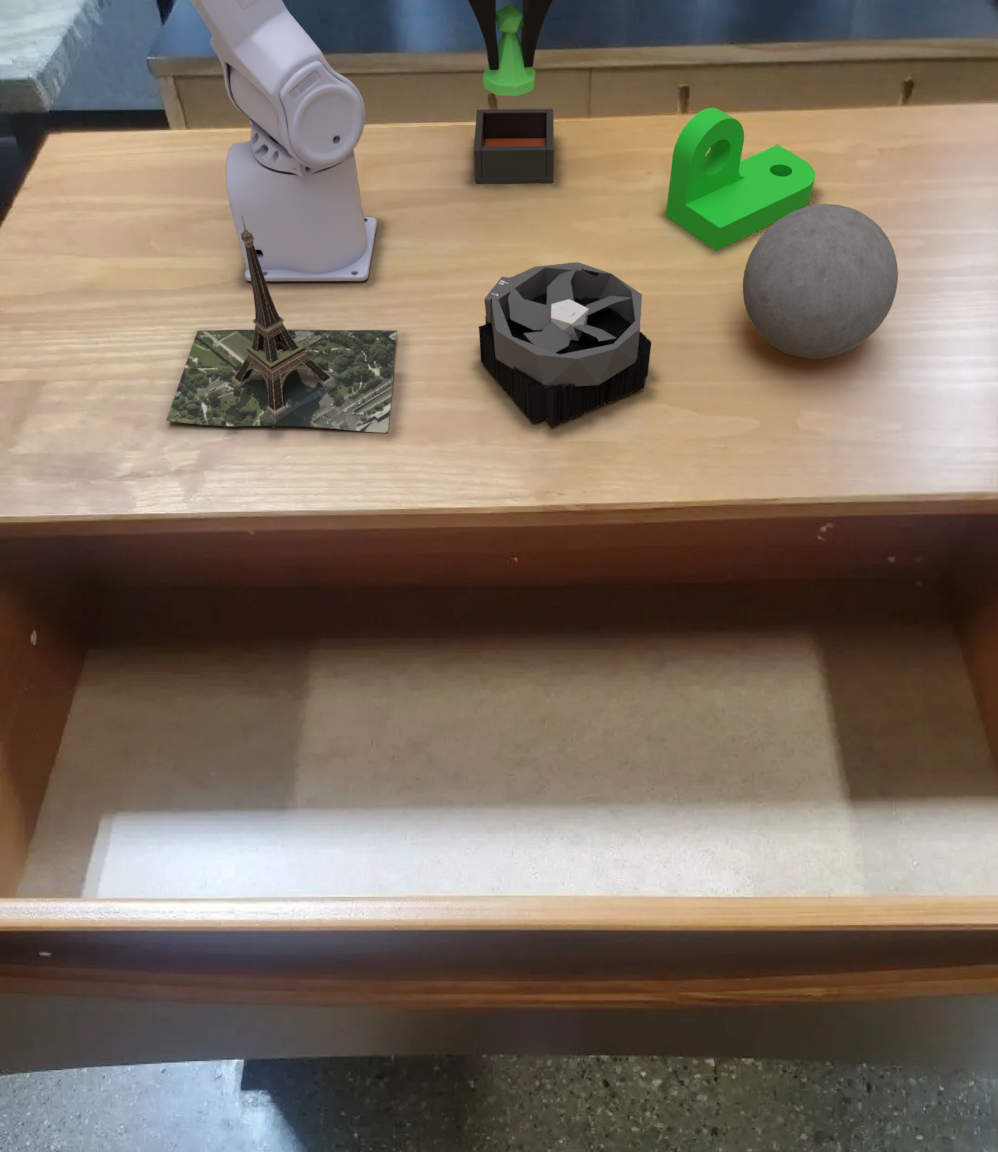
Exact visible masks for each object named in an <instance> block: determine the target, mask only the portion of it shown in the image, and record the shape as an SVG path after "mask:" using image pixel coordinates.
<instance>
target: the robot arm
mask: <svg viewBox="0 0 998 1152" xmlns="http://www.w3.org/2000/svg"><path fill="white" fill-rule="evenodd" d="M521 1H522V3H521V4H522V9H521V12H522V15H523V21H524V26H523V27H521V28H520V29H521V30H520V44H521V46H522V49H523V59H524V68H526V67H531V68H533V67H534V61H535V54H536V50H537V45H538V41H539V38H540V33H541V30H542V28H543V25H544V22H545V19H546V16H547V13H548V12H549V9H550V6H551V5H552V4H553V1H554V0H521ZM189 2H190V3H191V5H192V6H193V8H194V9H195V10H196V12H197V13H198V15H199V17H200V19H201V20H202V21H203V23H204V25H205V26H206V28H207V29H208V30H209V32H210V34H211V35H212V36H211V37H210V40H209V45H210V47H211V49H212V50H213V52H214V53H215V55H216V56H217V58H218V61H219V62H220V65H221V68H222V72H223V80H224V86H225V90H226V94H227V96H228V98H229V100H230V103H232V105H233V107H235V108H236V109H237V110H238V112H240V113H241V114H243V115H244V116H245V117H247V118H248V121H249V125H250V140H247V141H243V142H236V143H233V144H231V145H230V146H229V149H228V151H227V156H226V163H225V183H226V194H227V199H228V204H229V208H230V213H231V216H232V220H233V223H234V227H235V231H236V235H237V239H238V243H239V247H240V250H241V254H242V258H243V262H244V266H245V272H244V278H245V280H246V281H248V282H251V277H250V271H249V265H248V259H247V254H246V249H245V244H244V242H243V241H242V240H241V238H242V237H241V233H243V232H244V229H245V228H246V230H248V231H249V232H250V233H252V235H253V237H254V240H253V243H254V247H255V251H256V254H257V257H258V260H259V263H260V266H261V269H262V272H263V275H264V278H265V281H266V282H363V281H366V280H367V279H368V278H369V274H370V269H371V262H372V256H373V250H374V244H375V237H376V233H377V227H378V221H377V218H376V217H373V216H365V215H364V209H363V202H362V196H361V189H360V181H359V176H358V168H357V162H356V155H355V148H356V147H357V146H358V143H359V142H360V140H361V137H362V135H363V132H364V128H365V124H366V107H365V102H364V99H363V96H362V93H361V92H360V90H359V89H358V87H357V86H356V85H355V84H354V83H353V81H351V80H350V79H349V78H347V77H345V76H344V75H342V74H341V73H338V72H337V71H336V70H334V69H333V67H331V65H330V64H329V62H328V61H327V59H326V57H325V56H324V54H323V52H322V50H321V49H320V47H318V45H317V44H316V42H314V40H313V39H312V38H311V36H310V35H309V34H308V33H307V32H306V31H305V30H304V28H303V27H302V26H301V25H300V24H299V22H298V21H297V20H296V19H295V17H294V16H293V15H292V14H291V13H290V11H289V10H288V9H287V7H286V4H285V3H284V2H283V0H189ZM467 2H468V4H469V5H470V7H471V9H472V12H473V14H474V16H475V18H476V21H477V23H478V26H479V29H480V32H481V34H482V37H483V40H484V44H485V49H486V58H487V64H488V66H489V69H490V70H499V56H498V37H497V22H496V12H497V11H496V10H497V8H496V7H497V3H496V2H497V0H467ZM241 216H243V220H244V224H245V228H244V225H243V221H242V217H241Z"/></svg>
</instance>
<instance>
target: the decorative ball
mask: <svg viewBox="0 0 998 1152" xmlns="http://www.w3.org/2000/svg"><path fill="white" fill-rule="evenodd" d="M898 279H899V269H898V262H897V256H896V252H895V249H894V247H893V245H892V243H891V241H890V239H889V237H888V236H887V234H886V233H885V231H884V230H883V229H882V227H881V226H880V225H879V224H878V223H877V222H875V221H874V220H873V219H872V218H871V217H869V216H868V215H866V214H865V213H863V212H862V211H859V210H858V209H855V208H852V207H848V206H845V205H841V204H834V203H833V204H832V203H822V204H821V203H819V204H813V205H807V206H806V207H804V208H801V209H798V210H796V211H794V212H791V213H789V214H787V215H786V216H784V217H782V218H781V219H779V220H778V221H777V222H775V223H773V224H771V225H770V226H768V228H767V229H766V230H765V231H764V232H763V234H761V236H760V237H759V238H758V240H757V242H756V243H755V245H754V246H753V247H752V250H751V252H750V254H749V256H748V258H747V261H746V264H745V268H744V271H743V279H742V295H743V302H744V303H743V304H744V307H745V310H746V315H747V317H748V318H749V320H750V322H751V324H752V326H753V328H754V329H755V330H756V331H757V333H758V334H759V335H760V336H761V338H763V339H764V340H765V341H766V342H767V343H768V344H770V345H771V346H772V347H774V348H775V349H777V350H779V351H781V352H783V353H786V354H788V355H790V356H793V357H798V358H803V359H825V358H831V357H834V356H839V355H841V354H843V353H846V352H848V351H850V350H853V349H854V348H856V347H857V346H859V345H860V344H861V345H862V343H864V342H865V341H866V340H867V339H869V338H870V336H872V335H873V334H874V333H875V332H876V331H877V330H878V329H879V327H880V326H881V325H882V324H883V322H884V321H885V319H886V318H887V316H888V314H889V313H890V310H891V308H892V306H893V304H894V300H895V297H896V293H897V288H898Z"/></svg>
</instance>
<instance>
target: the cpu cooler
mask: <svg viewBox="0 0 998 1152" xmlns="http://www.w3.org/2000/svg"><path fill="white" fill-rule="evenodd" d="M642 300H643V294H642V293H641V292H639V291H638V290H636V289H635V288H633V287H632V286H631V285H629V284H628V283H626V282H625V281H623V280H622V279H620V278H619V277H618V276H616V275H615V274H613V273H611V272H608V271H605V270H601V269H599V268H598V267H597V268H596V267H593V266H592V265H591V266H590V265H588V264H585V263H581V262H578V261H577V262H568V263H567V262H566V263H557V264H556V263H555V264H548V265H539V266H533V267H530V268H528V269H526V270H524V271H522V272H520V273H517V274H516V275H513V276H510V277H507V276H501V277H500V278H499V280H498V281H497V282H496V283H495V285H494V286H493V287H492V288H491V290H489V292H488V294H487V295H486V296H485V297H484V307H485V308H484V309H485V318H484V319H485V321H484V322H485V324H483V325H480V326H478V334H479V352H480V362H481V363H482V365H483V366H484V367H485V368H486V369H487V371H488V372H489V373H490V375H491V376H492V377H493V378H494V379H495V380H496V381H497V383H498V384H499V385H500V386H501V387H502V389H503V390H504V391H505V392H506V393H507V394H508V395H509V397H510V398H511V399H512V400H513V402H514V403H515V404H516V405H517V406H518V407H519V409H520V410H521V411H522V412H523V413H524V414H525V415H526V416H527V418H528V419H529V420H530V421H531V423H532V424H534V423H538V422H541V421H544V420H546V421H547V422H548V424H549V425H550V426H551V428H554V427H556V426H559V425H560V424H561V423H566V422H567V421H569V420H573V419H576V418H578V417H579V416H582V415H585V413H589V412H592V411H594V410H596V409H598V408H601V407H603V406H605V404H606V405H608V404H611V403H613V402H615V401H617V400H618V399H619V400H620V399H623V398H624V397H628V396H630V395H632V394H634V393H637V392H639V391H642V390H645V385H646V384H645V383H646V378H647V377H648V374H649V366H650V358H651V348H652V340H650V339H649V338H648V337H647V335H645V334H644V333H643V331H641V320H642V319H641V318H642V302H643V301H642Z"/></svg>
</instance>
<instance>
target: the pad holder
mask: <svg viewBox="0 0 998 1152" xmlns="http://www.w3.org/2000/svg"><path fill="white" fill-rule="evenodd" d="M554 121H555V120H554V108H509V109H508V108H506V109H505V108H503V109H502V108H501V109H476V117H475V129H474V143H473V165H474V184H535V183H536V184H539V183H542V184H544V183H545V184H547V183H548V184H549V183H551V184H553V183H554V168H555V167H554V165H555V163H554V162H555V135H554V134H555V131H554V130H555V128H554V126H555V125H554Z"/></svg>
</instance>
